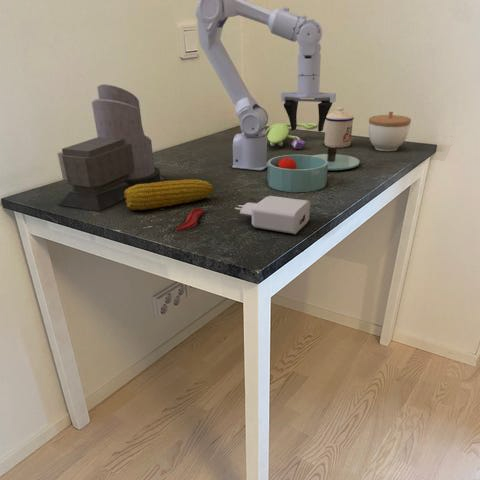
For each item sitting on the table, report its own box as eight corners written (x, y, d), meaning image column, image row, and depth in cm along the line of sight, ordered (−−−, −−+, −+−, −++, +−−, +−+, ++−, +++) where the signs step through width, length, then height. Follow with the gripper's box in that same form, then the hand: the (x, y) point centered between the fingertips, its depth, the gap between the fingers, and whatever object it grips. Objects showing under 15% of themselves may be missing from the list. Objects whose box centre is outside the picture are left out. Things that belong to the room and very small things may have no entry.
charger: (246, 211, 108) (309, 220, 102) (227, 225, 101) (293, 236, 95) (246, 190, 106) (310, 199, 100) (226, 203, 99) (294, 213, 93)
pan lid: (295, 168, 137) (296, 150, 134) (313, 155, 149) (314, 138, 146) (351, 174, 131) (353, 155, 128) (365, 160, 143) (367, 142, 140)
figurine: (319, 136, 172) (321, 119, 169) (300, 153, 151) (301, 135, 148) (271, 133, 178) (271, 117, 175) (245, 150, 157) (245, 132, 154)
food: (131, 216, 107) (127, 190, 104) (124, 209, 111) (120, 183, 108) (216, 200, 115) (215, 175, 112) (207, 194, 119) (205, 169, 116)
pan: (258, 188, 122) (258, 166, 119) (280, 172, 134) (280, 152, 131) (315, 195, 117) (317, 172, 114) (333, 178, 128) (335, 157, 125)
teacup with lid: (347, 149, 155) (351, 110, 149) (320, 147, 158) (322, 109, 152) (355, 141, 165) (359, 104, 158) (329, 139, 168) (332, 103, 161)
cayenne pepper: (183, 232, 99) (182, 223, 98) (166, 227, 101) (165, 219, 100) (216, 214, 107) (216, 205, 106) (200, 210, 109) (199, 202, 108)
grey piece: (126, 171, 138) (112, 77, 125) (174, 177, 132) (165, 78, 119) (53, 204, 115) (26, 92, 102) (107, 212, 109) (86, 95, 96)
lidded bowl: (411, 146, 156) (417, 110, 150) (399, 155, 147) (405, 116, 142) (373, 142, 162) (377, 107, 156) (360, 150, 153) (364, 113, 147)
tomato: (284, 176, 123) (269, 172, 127) (295, 182, 127) (281, 178, 131) (291, 156, 122) (276, 153, 126) (303, 163, 126) (288, 160, 130)
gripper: (277, 76, 124) (277, 131, 131) (331, 76, 118) (328, 134, 125) (286, 73, 129) (286, 127, 136) (339, 73, 123) (336, 129, 131)
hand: (307, 130), depth 131 cm, fingers open, 7 cm apart
